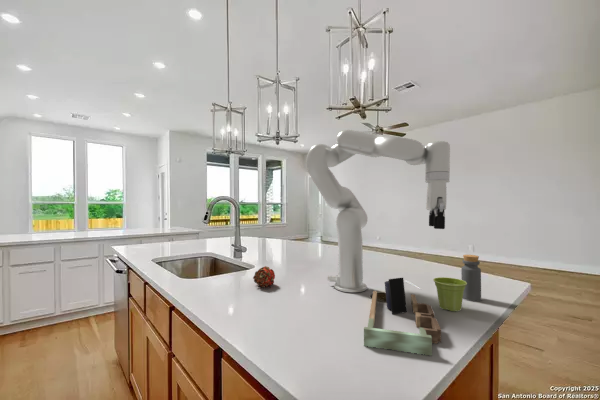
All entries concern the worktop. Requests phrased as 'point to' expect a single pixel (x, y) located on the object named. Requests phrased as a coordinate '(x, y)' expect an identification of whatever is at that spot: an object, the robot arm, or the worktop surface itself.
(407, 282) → the white baseball bat
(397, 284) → the black blue bulged block
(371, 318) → the trap channel
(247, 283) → the worktop surface
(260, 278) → the dragon fruit
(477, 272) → the bottle
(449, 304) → the plant pot
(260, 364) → the worktop surface
